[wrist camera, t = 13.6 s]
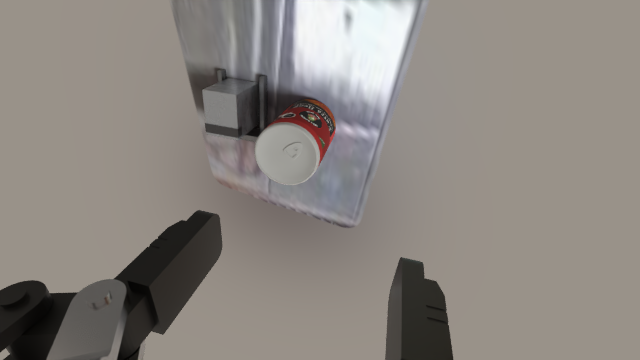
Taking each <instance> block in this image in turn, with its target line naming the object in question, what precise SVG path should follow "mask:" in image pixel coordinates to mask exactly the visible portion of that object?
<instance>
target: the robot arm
mask: <svg viewBox="0 0 640 360" xmlns="http://www.w3.org/2000/svg"><path fill="white" fill-rule="evenodd" d="M221 250H222V236H221V226H220V218H219V215H217V214H213V213H209V212H205V211H200V210H198V211H196V212H195V213H194V214H193V215H192V216H191V217H190V218H189V219H188V220H187V221H183V220H181V221H179V222H177V223H176V224H174V225H172V226H170V227H168V228H167V229H166V230H165V231H164V232H163V233H162V234H161V235H160V236H159V237H158V239H156V240H155V241H153V242H152V243H151V244H150V246H149V247H147V248H146V249H145V250H144V251H143V252H142V253H141V254H140V255H139V256H138V257H137V258H136V259H135V260H134V261H132V262H131V263H130V264H129V265H128V266H127V267H126V268H125V269H124V270H123V271H122V272H121V273H120V274H119V275H118V276H117V277H116V278H114V279H107V280H101V281H98V282H95V283H93V284H90V285H88V286H87V287H85V288H83V289H82V290H81V291H80V292H78V293H49V291H48V289H47V288H46V286H45V284H43V283H42V282H39V281H33V280H32V281H23V282H19V283H16V284H13V285H11V286H8V287H6V288H4V289H2V290H0V352H1V351H2V350H4V349H5V348H6V349H7V350H8V352H9V353H10V355H8V356H7V357H6V358H5V359H4V360H143V356H144V350H145V338H146V337H147V336H148V334H149V333H150V332H151V331H153V332H156V333H159V334H162V335H163V334H164V333H165V332H166V330H167V329H168V327H169V326H170V325H171V323H172V322H173V321H174V319H175V318H176V316H177V315H178V314H179V312H180V311H181V310H182V308H183V307H184V305H185V304H186V303H187V301H188V300H189V298H190V297H191V296H192V294H193V293H194V292H195V290H196V289H197V287H198V286H199V285H200V283H201V282H202V281H203V279H204V278H205V277H206V275H207V274H208V272H209V271H210V270H211V268H212V267H213V266H214V264H215V263H216V261H217V260H218V258H219V256H220V254H221ZM385 360H453V354H452V346H451V339H450V332H449V325H448V317H447V313H446V303H445V296H444V294H443V292H442V290H441V289H440V287H439V285H438V284H437V282H436V281H432V280H429V279H424V267H423V263H422V262H420V261H415V260H410V259H407V258H402V257H401V258H400V260H399V263H398V266H397V269H396V273H395V276H394V279H393V283H392V286H391V289H390V294H389V302H388V320H387V338H386V358H385Z"/></svg>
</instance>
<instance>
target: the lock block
mask: <svg viewBox="0 0 640 360" xmlns="http://www.w3.org/2000/svg"><path fill="white" fill-rule="evenodd" d="M202 93H203V102H204V111H205V120H206V123H205V128H206V132H207V135H211V136H217V137H222V138H227V139H233V140H240V139H241V138H242V137H243V136H244V135H246V134H247V133H248V132H249V131H250V130H252V129H253V128H254V127H255V126H256V125H258V124H259V82H252V81H246V80H239V79H233V78H228V79H225V80H223V81H221V82H219V83H216V84H214V85H212V86H209V87H207V88H205V89H202Z"/></svg>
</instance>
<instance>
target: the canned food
mask: <svg viewBox="0 0 640 360" xmlns="http://www.w3.org/2000/svg"><path fill="white" fill-rule="evenodd" d="M335 129H336V127H335V120H334V117H333V114H332V112H331V111H330V110H329V108H328V107H327V106H326V105H324V104H323V103H321V102H319V101H316V100H310V99H307V100H300V101H298V102H295V103H294V104H292V105H291V106H290V107H289V108H288V109H286V110H285V111H284V112H283V113H282V114H281V115H280V116H279V117H277V118H276V119H275V120H274V121H273V122H272V123H271V124H269V125H268V126H267V127H266V128H265V129H264V130H263V132H262V133H261V134H260V135H259V137H258V139H257V141H256V144H255V151H254V153H255V159H256V162H257V164H258V166H259V168H260V169H261V171H262V172H263V173H264V174H265V175H266V176H267V177H268V178H270V179H271V180H273V181H275V182H277V183H280V184H284V185H296V184H300V183H303V182H305V181H306V180H308V179H309V178H310V177H311V176H312V175H313V174H314V172H315V171H316V170H317V168H318V166H319V164H320V162H321V161H322V159H323V157H324V155H325V153H326V151H327V149H328V147H329V145H330V143H331V141H332V139H333V137H334V134H335Z"/></svg>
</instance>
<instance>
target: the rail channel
mask: <svg viewBox="0 0 640 360" xmlns="http://www.w3.org/2000/svg"><path fill="white" fill-rule="evenodd" d="M217 74H218V83H219V82H221V81H223V80H225V79H226V70H225V69H220V70H217ZM259 79H260V129H257V128H253V129H252V130H250V131H249V132H248V133H247V134H246V135H244V136H243V137H242V138H241V139H242V140H248V141H253V142H256V141H257V139H258V137H259V135H260V134H261V133H262V132H263V130H264V129H265V128H266V127H267V76H265V75H262V76H260V77H259Z"/></svg>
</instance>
